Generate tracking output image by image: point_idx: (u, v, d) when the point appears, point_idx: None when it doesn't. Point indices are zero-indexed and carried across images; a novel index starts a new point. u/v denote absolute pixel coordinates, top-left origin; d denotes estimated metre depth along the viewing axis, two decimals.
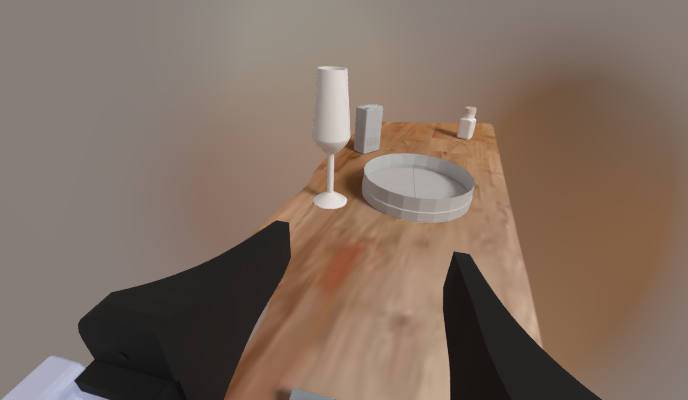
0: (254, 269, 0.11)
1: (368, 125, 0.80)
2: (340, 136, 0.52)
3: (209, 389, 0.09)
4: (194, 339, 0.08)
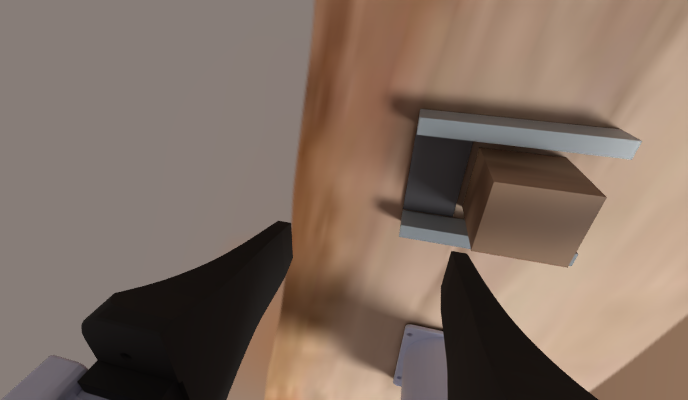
0: (257, 270, 0.11)
1: None
2: None
3: (212, 390, 0.09)
4: (197, 340, 0.08)
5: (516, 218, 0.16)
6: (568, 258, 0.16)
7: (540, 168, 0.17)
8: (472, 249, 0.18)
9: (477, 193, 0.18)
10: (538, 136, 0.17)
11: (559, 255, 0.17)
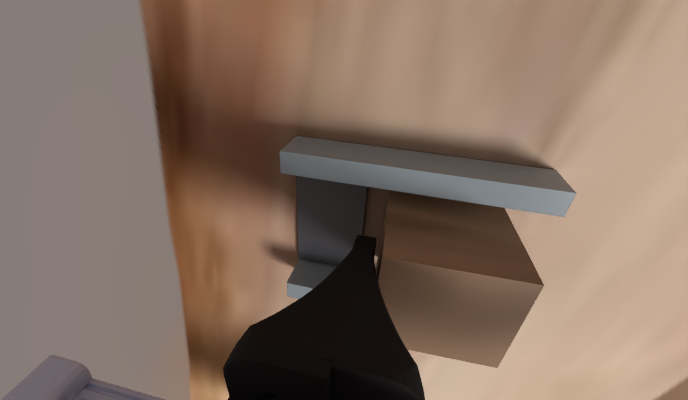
0: None
1: None
2: None
3: None
4: None
5: (421, 306, 0.11)
6: (497, 357, 0.12)
7: (461, 227, 0.12)
8: None
9: None
10: (435, 181, 0.12)
11: (485, 353, 0.12)
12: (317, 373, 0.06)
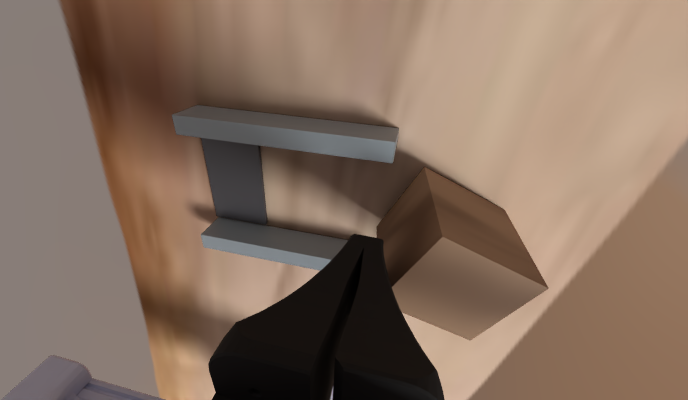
0: (349, 289, 0.11)
1: None
2: None
3: None
4: (321, 372, 0.08)
5: (445, 283, 0.12)
6: (476, 332, 0.14)
7: (486, 223, 0.14)
8: None
9: (406, 229, 0.14)
10: (293, 136, 0.14)
11: (469, 328, 0.14)
12: (300, 369, 0.06)
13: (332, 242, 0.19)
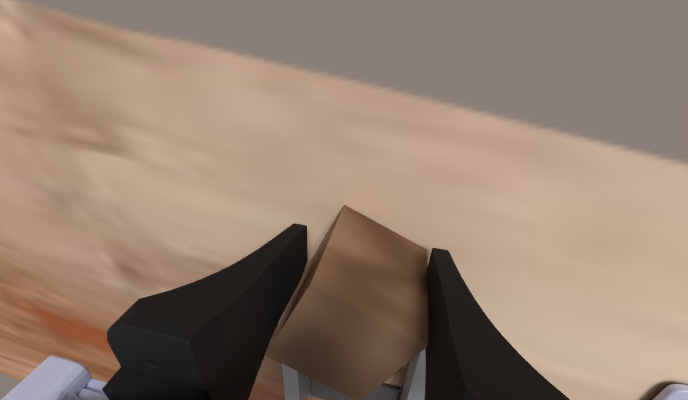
0: (275, 273, 0.11)
1: None
2: None
3: (234, 396, 0.09)
4: (222, 346, 0.08)
5: (321, 357, 0.12)
6: (409, 340, 0.10)
7: (310, 269, 0.13)
8: None
9: None
10: (286, 366, 0.18)
11: (400, 345, 0.11)
12: (182, 339, 0.07)
13: None
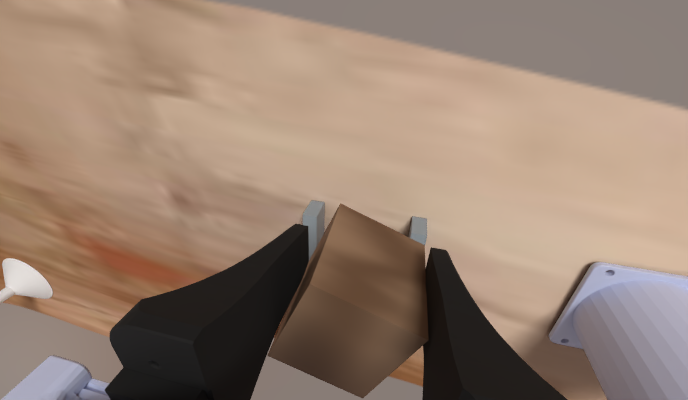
0: (277, 274, 0.11)
1: None
2: None
3: (236, 397, 0.09)
4: (225, 347, 0.08)
5: (323, 356, 0.12)
6: (409, 335, 0.10)
7: (309, 268, 0.13)
8: (361, 396, 0.13)
9: None
10: None
11: (401, 340, 0.11)
12: (185, 339, 0.07)
13: None
